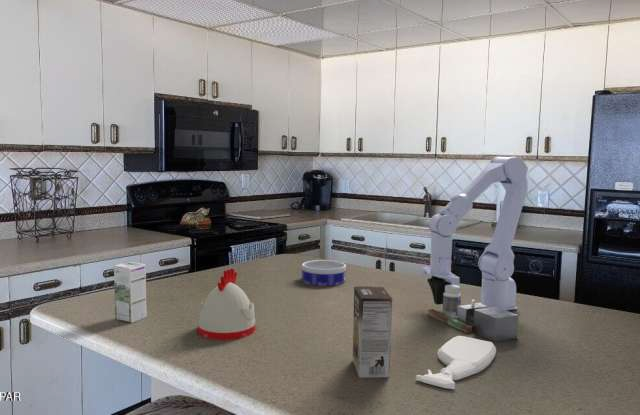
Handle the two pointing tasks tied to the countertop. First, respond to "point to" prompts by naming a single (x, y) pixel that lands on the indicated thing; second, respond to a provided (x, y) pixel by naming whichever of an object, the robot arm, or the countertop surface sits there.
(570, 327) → the countertop surface
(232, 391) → the countertop surface
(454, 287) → the pill bottle
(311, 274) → the dog bowl
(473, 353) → the spray bottle
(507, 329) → the block
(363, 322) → the coffee box
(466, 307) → the small grey block
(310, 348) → the countertop surface
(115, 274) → the syrup box
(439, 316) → the gauge rails
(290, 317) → the countertop surface
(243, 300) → the kitchen timer
